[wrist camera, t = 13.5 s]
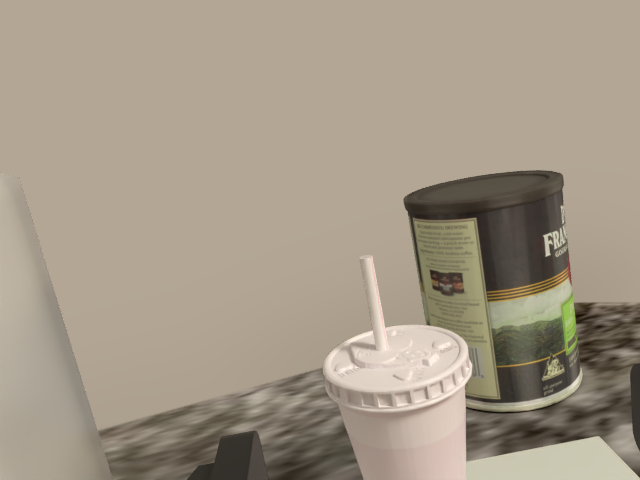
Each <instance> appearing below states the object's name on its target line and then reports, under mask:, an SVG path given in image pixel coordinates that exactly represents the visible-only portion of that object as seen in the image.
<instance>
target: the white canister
mask: <svg viewBox="0 0 640 480" xmlns="http://www.w3.org/2000/svg"><path fill="white" fill-rule="evenodd" d="M0 480H113V479H112V476H111V472H110V469H109V466H108V463H107V459H106V456H105V453H104V450H103V446H102V443H101V440H100V437H99V434H98V430H97V427H96V424H95V421H94V418H93V414H92V411H91V408H90V405H89V401H88V398H87V395H86V392H85V389H84V385H83V382H82V379H81V375H80V372H79V369H78V366H77V363H76V359H75V356H74V353H73V350H72V346H71V343H70V340H69V337H68V334H67V330H66V327H65V324H64V321H63V317H62V314H61V311H60V308H59V305H58V301H57V298H56V295H55V292H54V288H53V285H52V282H51V279H50V275H49V272H48V269H47V266H46V262H45V259H44V256H43V253H42V249H41V246H40V243H39V240H38V236H37V233H36V230H35V227H34V224H33V220H32V217H31V214H30V211H29V207H28V204H27V201H26V198H25V194H24V191H23V188H22V185H21V182H20V178H18V177H15V176H12V175H9V174H5V173H2V172H0Z"/></svg>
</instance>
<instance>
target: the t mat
mask: <svg viewBox="0 0 640 480" xmlns="http://www.w3.org/2000/svg"><path fill="white" fill-rule="evenodd" d="M466 480H640V478H639V477H638V476H637V475H636V474H635V473H634V472H633V471H632V470H631V469H630V468H629V467H628V466H627V465H626V464H625V463H624V462H623V461H622V460H621V459H620V458H619V456H618V455H617V454H616V453H615V452H614V451H613V450H612V449H611V448H610V447H609V446H608V445H607V444H606V443H605V442H604V441H603V440H602V439H601V438H600V437H599V436H598V437H592V438H587V439H582V440H577V441H572V442H567V443H562V444H556V445H551V446H546V447H541V448H536V449H531V450H525V451H520V452H515V453H510V454H505V455H500V456H494V457H489V458H484V459H479V460H474V461H469V462H466Z"/></svg>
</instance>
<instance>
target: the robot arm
mask: <svg viewBox="0 0 640 480" xmlns="http://www.w3.org/2000/svg"><path fill="white" fill-rule="evenodd" d="M630 381H631V402H632V423H633V434H634V438H635V441H636V444H637V446H638V449H639V450H640V363H639V364H635V365H634V366H633V367H632V369H631V373H630ZM187 480H269V479H268V474H267V470H266V465H265V461H264V456H263V452H262V447H261V443H260V438H259V435H258V433H257V431H250V432H244V433H239V434H233V435H227V436H222V437H221V439H220V442H219V446H218V451H217V455H216V459H215V463H211V464H206V465H200V466H198V467H197V468H196V469H195V471H194V472H193V473H192V474H191V476H190V477H189V478H188V479H187Z"/></svg>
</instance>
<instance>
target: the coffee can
mask: <svg viewBox="0 0 640 480" xmlns="http://www.w3.org/2000/svg"><path fill="white" fill-rule="evenodd" d="M563 186H564V182H563V175H562V174H560V173H557V172H553V171H539V170H537V171H517V172H506V173H496V174H489V175H482V176H475V177H469V178H464V179H459V180H454V181H449V182H445V183H440V184H436V185H433V186H429V187H426V188H422V189H420V190H417V191H415V192H412V193H411V194H409V195H407V196H405V198H404V205H405V208H406V210H407V211H408V216H409V223H410V229H411V234H412V235H411V236H412V241H413V246H414V254H415V260H416V266H417V272H418V278H419V284H420V291H421V296H422V303H423V308H424V314H425V320H426V325H428V326H434V327H440V328H443V329H446V330H449V331H451V332H453V333H455V334H457V335H459V336H460V337H461V338H462V339H463V340H464V341H465V342H466V344H467V346H468V353H469V359H470V361H471V363H472V365H473V366H472V375H471V377H470V379H469V380H468V382H467V383H466V384H465V402H466V407H468V408H472V409H477V410H483V411H492V412H520V411H529V410H534V409H539V408H543V407H547V406H550V405H553V404H555V403H558V402H560V401H562V400H564V399H565V398H567V397H569V396H570V395H571V394H573V393H574V392H575V391H576V390H577V388H578V387H579V385H580V384H581V381H582V376H583V374H582V369H581V367H580V360H579V349H578V342H577V332H576V321H575V312H574V303H573V293H572V284H571V274H570V262H569V253H568V245H567V244H568V243H567V234H566V223H565V213H564V204H563V193H562V188H563Z"/></svg>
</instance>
